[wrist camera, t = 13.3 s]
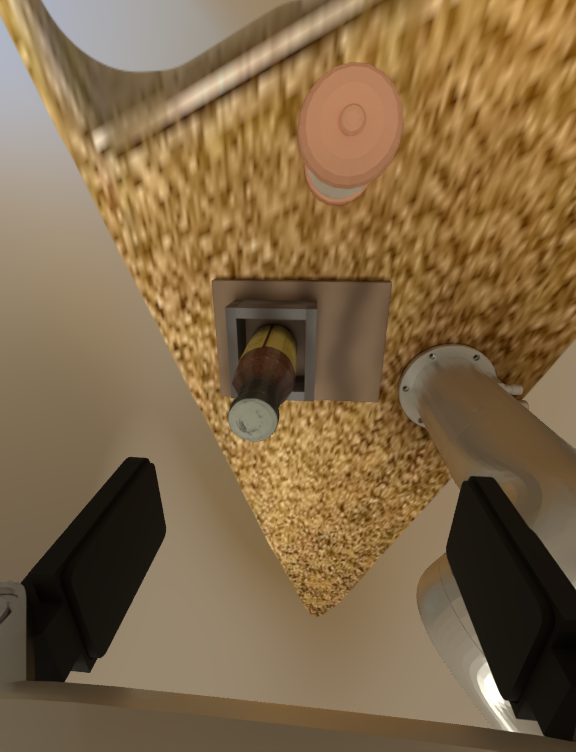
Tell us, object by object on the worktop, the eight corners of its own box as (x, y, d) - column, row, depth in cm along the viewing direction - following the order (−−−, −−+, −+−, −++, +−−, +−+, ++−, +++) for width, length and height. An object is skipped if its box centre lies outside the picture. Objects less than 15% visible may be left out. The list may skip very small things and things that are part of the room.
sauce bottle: (252, 365, 47) (208, 452, 28) (251, 320, 44) (202, 383, 26) (299, 367, 46) (286, 457, 28) (301, 322, 44) (288, 388, 26)
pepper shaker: (330, 220, 40) (339, 211, 23) (292, 164, 38) (268, 108, 21) (384, 174, 38) (439, 126, 20) (346, 113, 36) (370, 2, 19)
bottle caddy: (389, 281, 42) (401, 289, 36) (376, 397, 49) (384, 420, 43) (215, 279, 44) (198, 286, 38) (224, 391, 50) (211, 413, 44)
